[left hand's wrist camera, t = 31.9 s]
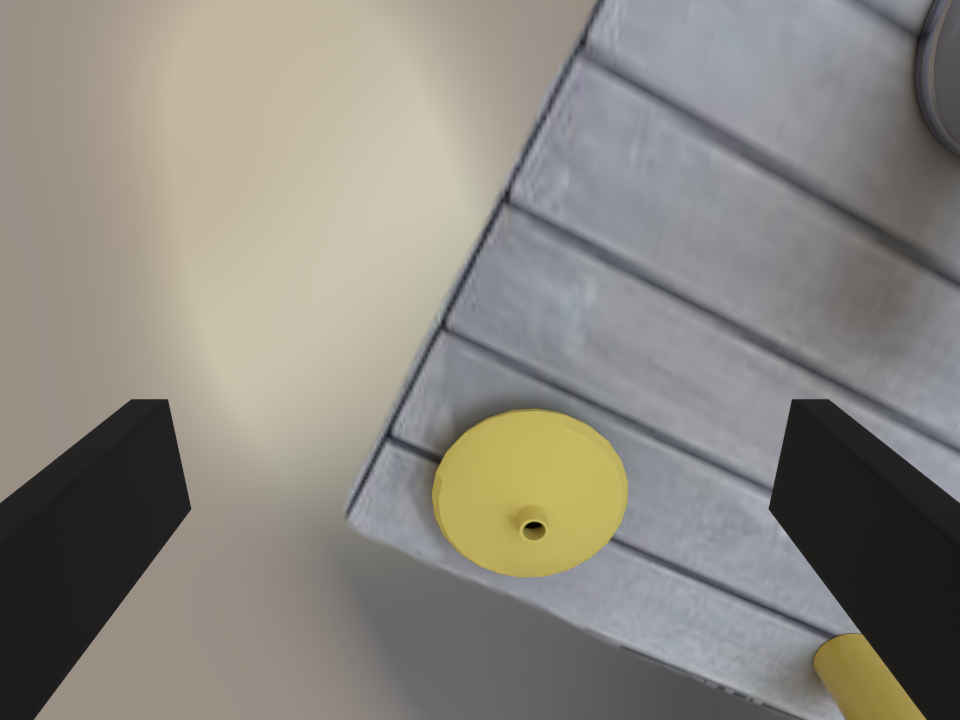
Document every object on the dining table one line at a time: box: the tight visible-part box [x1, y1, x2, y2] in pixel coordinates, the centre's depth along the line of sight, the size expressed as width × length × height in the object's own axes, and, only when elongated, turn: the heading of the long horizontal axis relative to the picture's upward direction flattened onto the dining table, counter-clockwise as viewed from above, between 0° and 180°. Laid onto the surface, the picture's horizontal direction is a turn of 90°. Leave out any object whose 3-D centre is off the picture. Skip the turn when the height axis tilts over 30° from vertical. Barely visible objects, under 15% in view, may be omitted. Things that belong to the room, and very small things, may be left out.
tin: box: [814, 634, 926, 720], centre depth 54 cm, size 6×6×10 cm
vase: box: [432, 408, 628, 578], centre depth 47 cm, size 16×16×7 cm
